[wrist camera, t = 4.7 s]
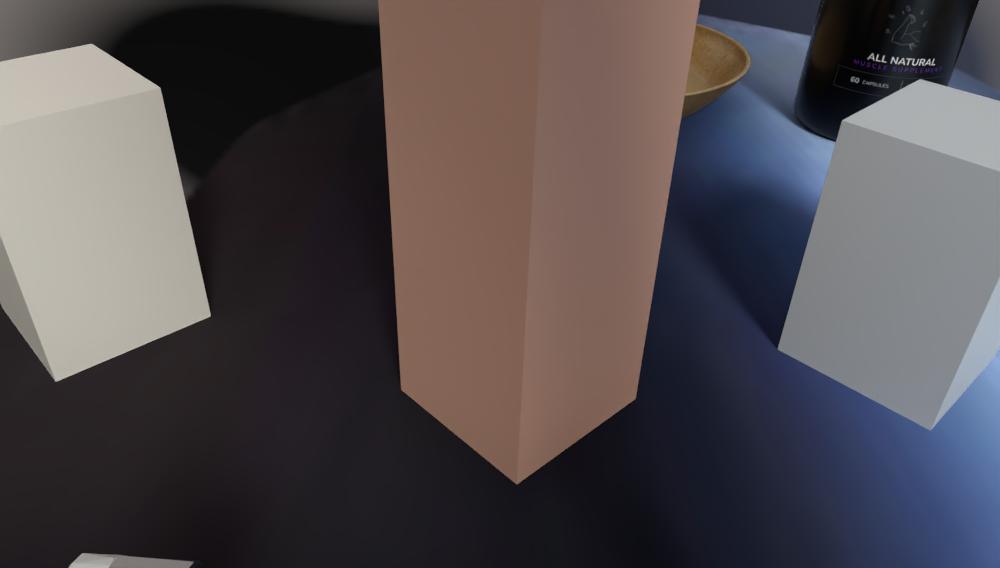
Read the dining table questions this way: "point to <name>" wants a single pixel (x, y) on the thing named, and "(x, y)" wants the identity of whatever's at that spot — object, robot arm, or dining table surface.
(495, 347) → the coral block
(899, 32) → the supplement bottle
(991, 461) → the dining table surface
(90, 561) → the robot arm
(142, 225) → the off-white block
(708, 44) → the plant saucer
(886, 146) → the grey-blue block
